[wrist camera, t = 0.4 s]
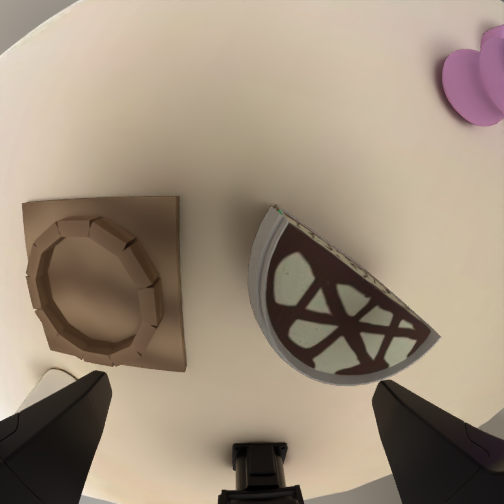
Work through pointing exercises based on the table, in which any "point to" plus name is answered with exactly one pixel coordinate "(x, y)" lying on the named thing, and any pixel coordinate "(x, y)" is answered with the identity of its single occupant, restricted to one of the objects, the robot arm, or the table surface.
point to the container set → (477, 80)
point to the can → (47, 387)
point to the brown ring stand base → (108, 279)
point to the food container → (328, 308)
